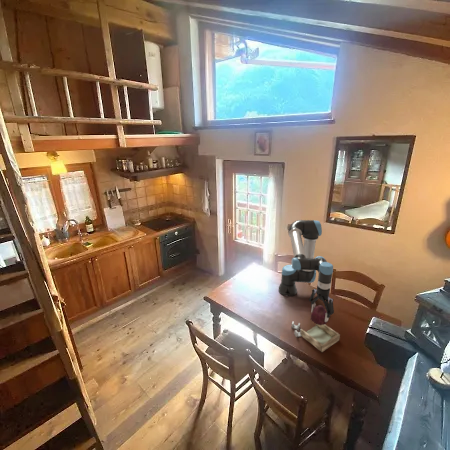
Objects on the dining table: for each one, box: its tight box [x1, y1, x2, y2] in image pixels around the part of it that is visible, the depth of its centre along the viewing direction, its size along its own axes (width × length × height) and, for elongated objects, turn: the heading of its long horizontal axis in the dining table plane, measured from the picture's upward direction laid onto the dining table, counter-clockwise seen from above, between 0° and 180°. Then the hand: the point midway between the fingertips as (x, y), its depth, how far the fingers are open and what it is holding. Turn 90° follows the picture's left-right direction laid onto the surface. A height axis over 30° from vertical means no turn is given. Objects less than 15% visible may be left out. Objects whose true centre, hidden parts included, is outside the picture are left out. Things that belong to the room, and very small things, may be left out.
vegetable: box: [310, 304, 329, 325], centre depth 157 cm, size 10×10×15 cm
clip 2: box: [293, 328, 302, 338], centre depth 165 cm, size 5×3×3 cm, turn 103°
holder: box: [299, 323, 341, 353], centre depth 163 cm, size 17×17×4 cm
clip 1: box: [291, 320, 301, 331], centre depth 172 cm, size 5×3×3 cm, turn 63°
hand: (319, 316), depth 160 cm, fingers closed on vegetable, 9 cm apart
